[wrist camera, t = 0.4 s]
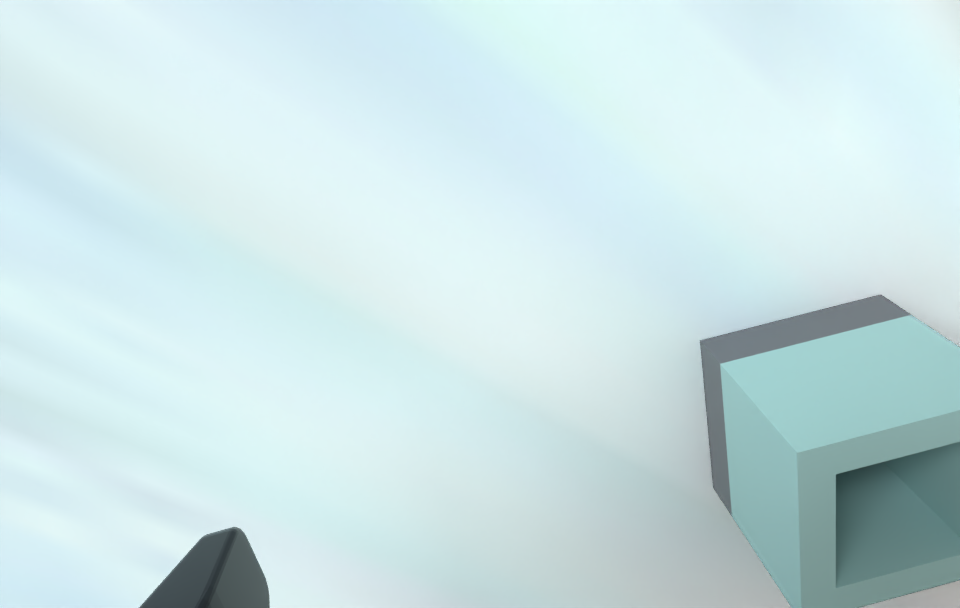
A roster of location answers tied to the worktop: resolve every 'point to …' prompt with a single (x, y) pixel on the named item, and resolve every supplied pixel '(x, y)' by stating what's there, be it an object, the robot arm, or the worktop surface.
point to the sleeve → (840, 450)
